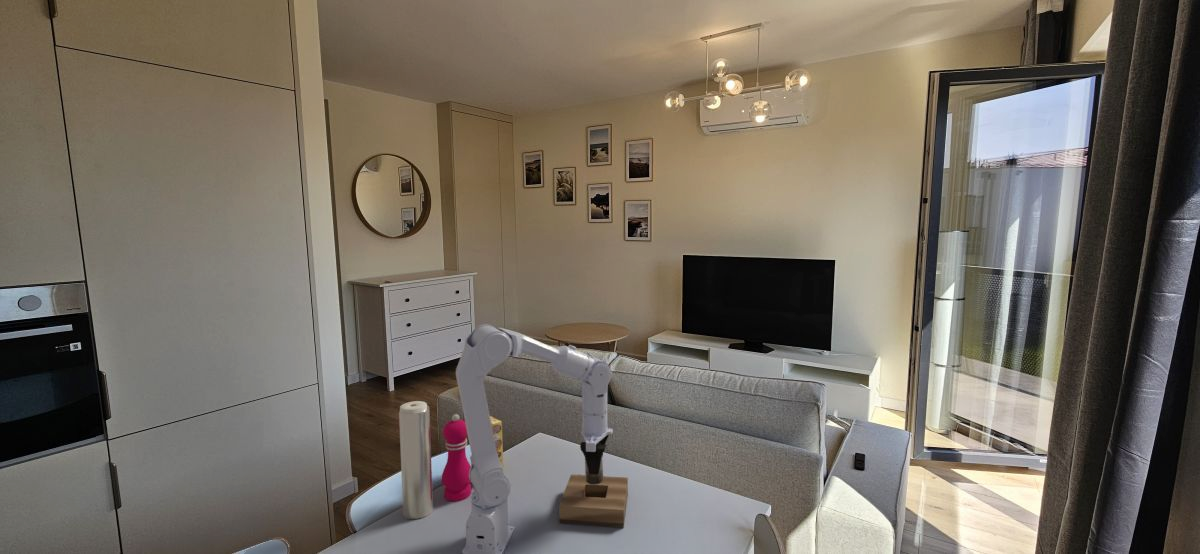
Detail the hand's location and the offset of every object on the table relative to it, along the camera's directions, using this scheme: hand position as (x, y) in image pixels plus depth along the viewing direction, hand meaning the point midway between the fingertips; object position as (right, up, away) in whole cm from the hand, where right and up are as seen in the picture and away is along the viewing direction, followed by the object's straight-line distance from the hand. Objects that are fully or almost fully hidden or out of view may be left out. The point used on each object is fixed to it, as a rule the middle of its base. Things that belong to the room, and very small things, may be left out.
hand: (595, 468), depth 109 cm
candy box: (-28, -8, +16) cm, 34 cm away
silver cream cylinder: (-40, -10, 0) cm, 42 cm away
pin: (0, -3, 0) cm, 3 cm away
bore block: (0, -9, +1) cm, 9 cm away
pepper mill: (-33, -9, +7) cm, 35 cm away
